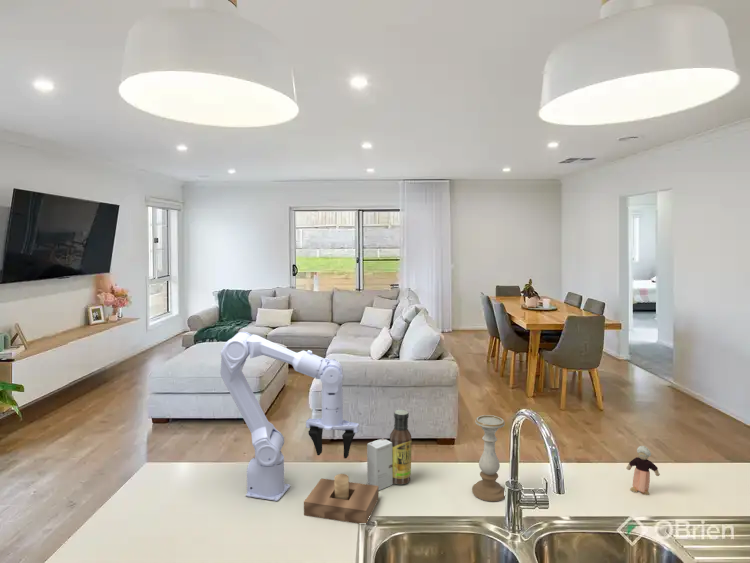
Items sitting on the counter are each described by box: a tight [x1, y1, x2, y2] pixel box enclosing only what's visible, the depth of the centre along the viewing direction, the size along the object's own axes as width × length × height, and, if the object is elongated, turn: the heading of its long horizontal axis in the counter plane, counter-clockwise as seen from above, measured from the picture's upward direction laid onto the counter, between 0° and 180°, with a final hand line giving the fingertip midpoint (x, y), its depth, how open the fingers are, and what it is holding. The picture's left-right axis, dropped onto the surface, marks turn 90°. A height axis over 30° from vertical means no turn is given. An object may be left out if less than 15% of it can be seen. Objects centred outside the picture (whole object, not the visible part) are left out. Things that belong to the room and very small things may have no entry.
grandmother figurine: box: [626, 445, 661, 496], centre depth 128 cm, size 8×4×13 cm, turn 68°
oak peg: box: [333, 473, 350, 500], centre depth 121 cm, size 4×4×8 cm
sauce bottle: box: [389, 409, 413, 486], centre depth 134 cm, size 6×6×20 cm
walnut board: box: [303, 478, 380, 525], centre depth 122 cm, size 16×12×4 cm
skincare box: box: [366, 438, 394, 491], centre depth 132 cm, size 6×4×12 cm
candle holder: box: [471, 414, 506, 502], centre depth 127 cm, size 9×9×20 cm
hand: (332, 455), depth 129 cm, fingers open, 7 cm apart
